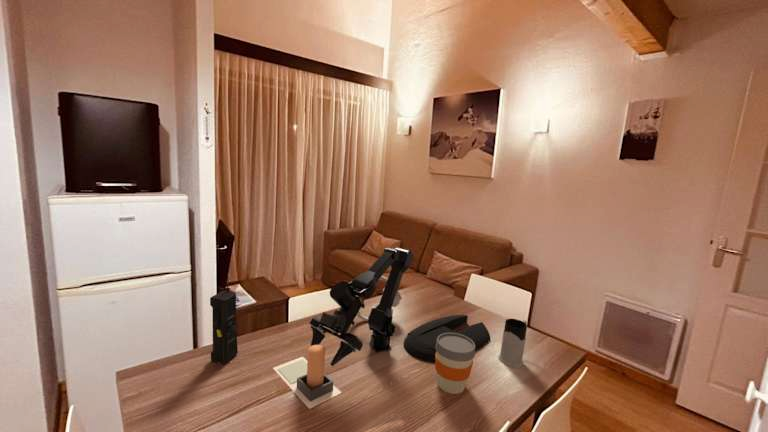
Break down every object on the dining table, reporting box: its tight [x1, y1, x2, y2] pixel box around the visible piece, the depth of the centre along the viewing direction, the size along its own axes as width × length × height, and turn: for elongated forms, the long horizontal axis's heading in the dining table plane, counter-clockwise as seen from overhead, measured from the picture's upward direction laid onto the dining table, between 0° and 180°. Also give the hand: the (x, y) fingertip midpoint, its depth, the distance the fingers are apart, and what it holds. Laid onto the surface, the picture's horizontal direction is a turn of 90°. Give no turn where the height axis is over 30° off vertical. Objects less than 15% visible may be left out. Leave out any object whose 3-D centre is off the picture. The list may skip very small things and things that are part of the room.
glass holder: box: [498, 318, 528, 368], centre depth 129 cm, size 9×14×15 cm, turn 135°
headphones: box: [355, 275, 403, 322], centre depth 149 cm, size 21×9×22 cm
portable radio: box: [209, 284, 239, 365], centre depth 114 cm, size 8×6×25 cm
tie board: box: [272, 356, 342, 410], centre depth 106 cm, size 23×11×4 cm, turn 43°
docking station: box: [403, 314, 491, 363], centre depth 139 cm, size 25×41×5 cm, turn 131°
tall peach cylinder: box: [307, 344, 326, 390], centre depth 102 cm, size 5×5×13 cm
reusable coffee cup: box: [434, 333, 476, 395], centre depth 110 cm, size 13×13×15 cm
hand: (320, 359), depth 103 cm, fingers open, 9 cm apart
